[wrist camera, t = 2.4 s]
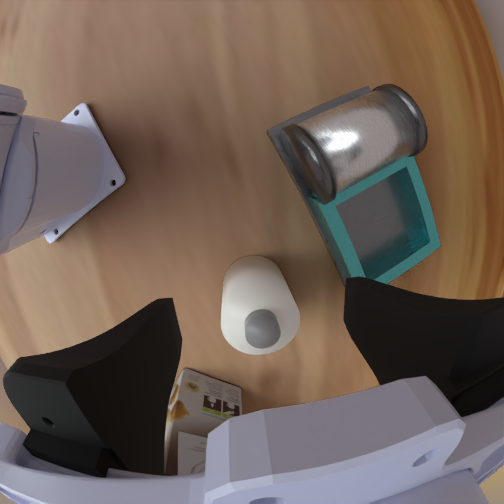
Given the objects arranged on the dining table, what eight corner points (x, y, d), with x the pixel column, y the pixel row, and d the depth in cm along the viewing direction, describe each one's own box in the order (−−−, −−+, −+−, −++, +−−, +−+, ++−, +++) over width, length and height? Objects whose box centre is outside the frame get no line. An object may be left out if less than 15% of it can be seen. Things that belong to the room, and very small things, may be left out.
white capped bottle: (242, 320, 23) (247, 377, 16) (211, 274, 22) (203, 322, 15) (293, 293, 23) (317, 343, 16) (265, 244, 21) (281, 280, 14)
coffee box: (182, 364, 24) (155, 523, 9) (242, 387, 25) (255, 537, 10) (155, 414, 26) (130, 536, 11) (206, 432, 27) (203, 551, 12)
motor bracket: (344, 286, 23) (376, 322, 17) (265, 132, 19) (280, 116, 13) (427, 233, 22) (471, 252, 16) (368, 86, 18) (409, 66, 12)
